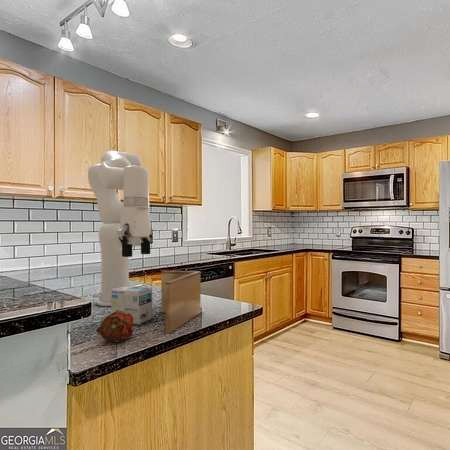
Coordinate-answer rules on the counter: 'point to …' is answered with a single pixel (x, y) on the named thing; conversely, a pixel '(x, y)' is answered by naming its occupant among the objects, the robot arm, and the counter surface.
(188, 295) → the shelf
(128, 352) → the counter surface
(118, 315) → the dragon fruit
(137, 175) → the robot arm
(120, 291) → the light bulb box
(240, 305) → the counter surface
